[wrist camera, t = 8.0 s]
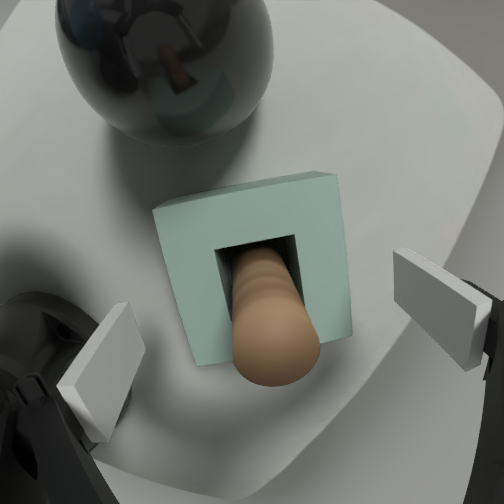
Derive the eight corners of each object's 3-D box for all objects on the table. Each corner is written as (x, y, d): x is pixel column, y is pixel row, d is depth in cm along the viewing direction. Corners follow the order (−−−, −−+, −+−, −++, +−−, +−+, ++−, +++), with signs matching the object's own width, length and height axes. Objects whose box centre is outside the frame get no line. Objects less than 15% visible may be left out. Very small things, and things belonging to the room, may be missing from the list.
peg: (228, 238, 22) (223, 323, 11) (274, 230, 22) (316, 306, 11) (237, 281, 23) (241, 392, 12) (281, 273, 23) (322, 377, 12)
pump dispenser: (292, 114, 20) (400, 33, 6) (150, 175, 21) (7, 208, 6) (234, -4, 17) (237, -161, 3) (101, 55, 18) (-33, -33, 3)
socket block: (203, 328, 24) (196, 366, 19) (170, 198, 21) (152, 209, 17) (331, 303, 24) (352, 336, 19) (314, 171, 21) (336, 174, 16)
